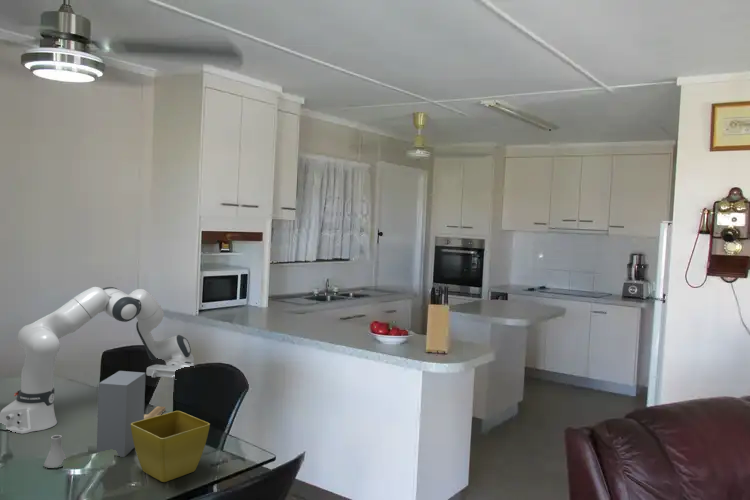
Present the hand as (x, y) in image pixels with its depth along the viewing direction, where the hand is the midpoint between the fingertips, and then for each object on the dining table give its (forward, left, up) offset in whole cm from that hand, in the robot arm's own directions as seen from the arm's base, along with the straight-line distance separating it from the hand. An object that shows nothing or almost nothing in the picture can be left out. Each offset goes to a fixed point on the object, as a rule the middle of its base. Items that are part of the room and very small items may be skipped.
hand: (163, 376), depth 262 cm
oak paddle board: (+1, -14, -14) cm, 20 cm away
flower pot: (+24, -58, -15) cm, 64 cm away
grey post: (0, -42, -14) cm, 44 cm away
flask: (-14, -60, -15) cm, 63 cm away
